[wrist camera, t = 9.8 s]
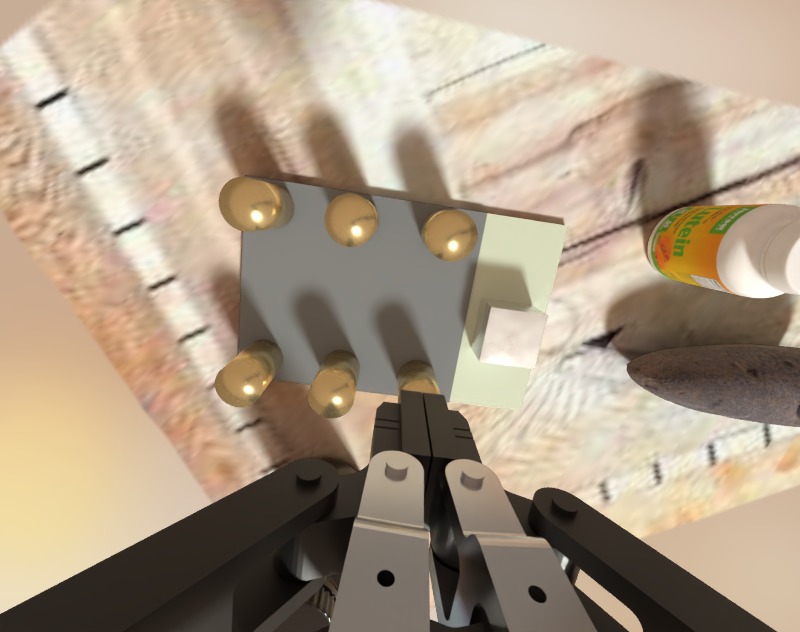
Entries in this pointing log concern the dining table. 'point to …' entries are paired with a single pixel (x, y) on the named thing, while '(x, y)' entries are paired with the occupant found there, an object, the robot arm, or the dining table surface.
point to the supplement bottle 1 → (321, 604)
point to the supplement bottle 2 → (730, 248)
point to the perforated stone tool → (726, 380)
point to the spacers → (349, 226)
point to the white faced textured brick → (508, 333)
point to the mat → (391, 294)
